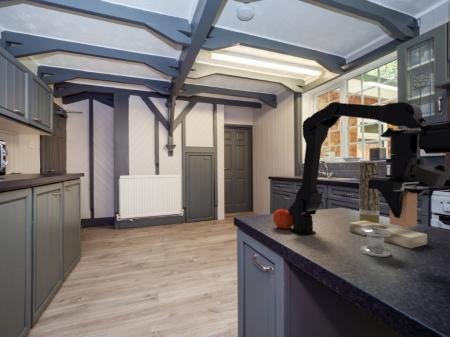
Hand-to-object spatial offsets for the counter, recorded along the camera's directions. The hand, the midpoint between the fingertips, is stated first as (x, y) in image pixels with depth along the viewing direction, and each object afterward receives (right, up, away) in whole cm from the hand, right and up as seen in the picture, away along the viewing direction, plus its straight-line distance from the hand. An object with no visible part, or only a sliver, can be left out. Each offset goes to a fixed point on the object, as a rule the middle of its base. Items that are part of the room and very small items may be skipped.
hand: (402, 216), depth 62 cm
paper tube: (+13, -10, +36) cm, 40 cm away
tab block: (0, -2, 0) cm, 2 cm away
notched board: (+8, -10, +19) cm, 23 cm away
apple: (-22, -11, +32) cm, 40 cm away
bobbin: (-4, -11, +5) cm, 12 cm away
